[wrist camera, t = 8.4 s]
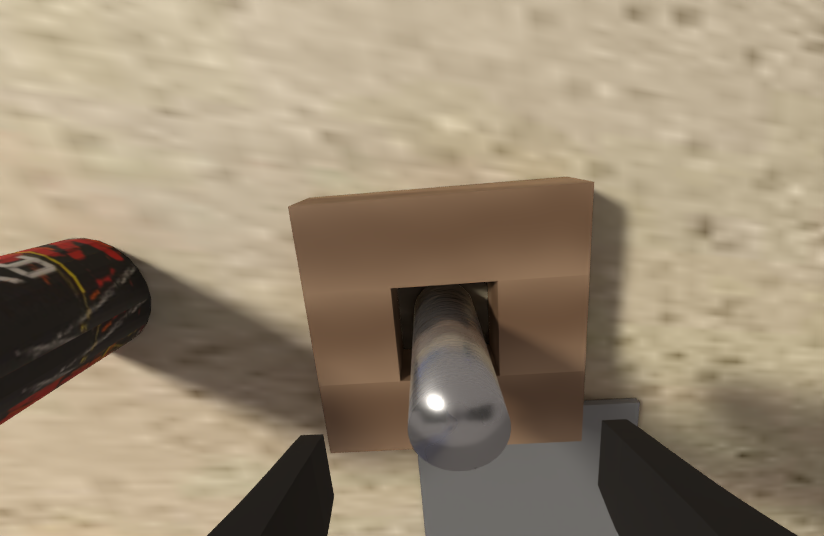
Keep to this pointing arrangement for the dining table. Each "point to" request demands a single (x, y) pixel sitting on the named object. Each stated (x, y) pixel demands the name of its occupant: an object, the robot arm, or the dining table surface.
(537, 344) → the hole block
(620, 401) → the mat
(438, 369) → the peg
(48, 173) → the dining table surface
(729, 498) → the robot arm
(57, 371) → the deodorant
